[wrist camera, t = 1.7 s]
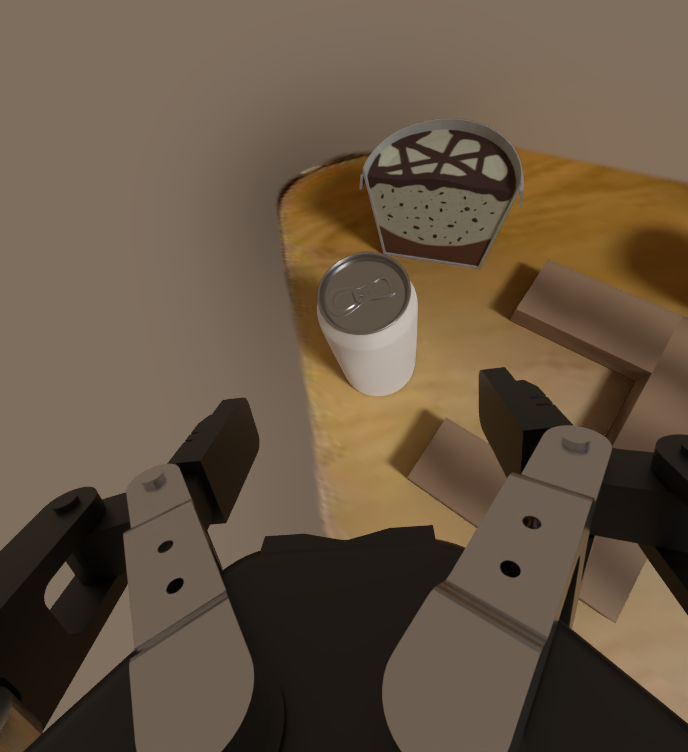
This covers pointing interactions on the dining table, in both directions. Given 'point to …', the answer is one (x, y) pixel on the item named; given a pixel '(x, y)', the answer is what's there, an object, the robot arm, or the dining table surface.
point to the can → (370, 321)
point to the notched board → (629, 431)
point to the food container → (442, 190)
